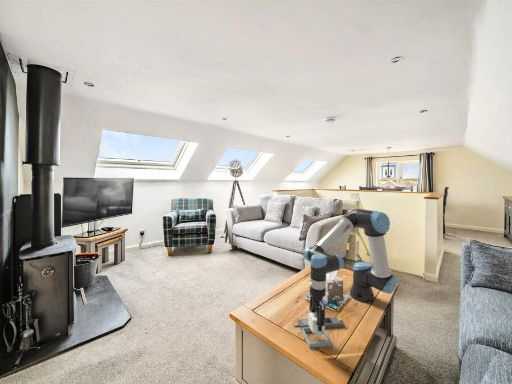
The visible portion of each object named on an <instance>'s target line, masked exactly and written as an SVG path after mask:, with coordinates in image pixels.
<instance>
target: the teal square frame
mask: <svg viewBox="0 0 512 384" xmlns="http://www.w3.org/2000/svg"><path fill="white" fill-rule="evenodd" d="M307 332H308V333H309V332H312V331H311V329H310V327H305V328H302V330H301V333H302V334H303V335H302V336H304V339H305V341H306V343H307V345H308V347H309V348H310V349H311V348H320V347H321V348H322V347H331V346H333V345H332V343H333V342H332V340H331V338H330V337H329V335H328V333H327V332H326V331H325V332H322V335H324V338H325V340H327V341H314V342H313V341H312V342H310V340H309V337H308V335H307V334H306V333H307Z"/></svg>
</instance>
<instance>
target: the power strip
mask: <svg viewBox="0 0 512 384" xmlns="http://www.w3.org/2000/svg"><path fill="white" fill-rule="evenodd" d="M293 327H294V328H300V330H301V331H302V328H305V327H309V325H308V318H304V319H303V318H301V319H300V318H299V319H297V325H295V324H294V325H293ZM342 327H345V323H344V320H343V319H342V318H341V317H340V316H332V317H331V316H330V317H325V329H328V328H342Z"/></svg>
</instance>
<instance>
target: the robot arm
mask: <svg viewBox="0 0 512 384" xmlns="http://www.w3.org/2000/svg"><path fill="white" fill-rule="evenodd" d="M390 224H391V221H390V217H389V216H388V215H387V214H386V213H384V212H383V211H382V212H381V211H378V210H369V209H363V208H357V209H353V210H351V211H348V212H347V213H345V214H344V215H343V216H341V217H340V218H339V221H338V223H336V224H335V225H334V227H332V228H331V229H330V230H329V231H328V232H327V233H326V234H325V235H324V236H323V237H322V238H320V240H319V241H318V242H316V243H315V245H313V246H306V247H305V248H304V250H303V252H302V256H303V258H304V259H305V260H306V261H308V262H310V273H309V274H310V276H309V278H310V279H309V309H308V310H309V311H310V313H313V312H316V313H317V323H316V335H315V336H316V338H319V337H320V338H322V337H323V332H322V326H325V318H326V305H325V304H323V302H324V301H323V298H324V297H326V295H327V294H326V292H327V291H326V287H327V274H330V273H332V272H337V271H340V270H341V269H343V268H344V266H345V261H344V258H343V257H342V256H341V255H340V254H329V253H328V252H329V251H330V250H332V248H334V246H335V245H336V244H337V243H338V242H339V241H340V240H342V238H343V237H344V236H345V235H347V234H348V232H351V231H353V230H354V229H355V228H359V229H363V233H364V235H365V236H366V237H367V240H368V246H369V251H370V257H371V263H370V262H367V261H360V262H359V261H358V262H355V263H354V264H353V268H352V270H353V271H352V283H351V287H350V289H349V296H350V297H351V298H353V299H354V300H355V301H359V302H363V303H371V302H373V301H374V300H375V294H374V291H373V288H374V289H376V290H378V291H380V292H382V293H386V294H389V295H390V294H392V293H394V292H395V290H396V288H397V286H398V281H399V278H398V276H396V275H393V271H392V269H391V268H390V266H389V262H388V253H387V248H386V241H385V235H387V233H388V231H389V230H390ZM372 300H373V301H372ZM370 301H371V302H370Z"/></svg>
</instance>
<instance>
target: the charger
mask: <svg viewBox="0 0 512 384" xmlns="http://www.w3.org/2000/svg"><path fill="white" fill-rule="evenodd" d="M307 319H308V325H309V327H310V329H311V331H310V332H312V334H313V335H315V336H316V323H317V313H316V312H313V313H311V312H308V313H307ZM323 332H326V328H325V326H322V333H323Z"/></svg>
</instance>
